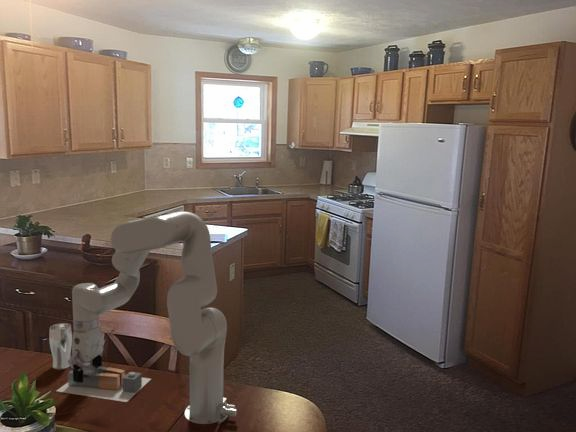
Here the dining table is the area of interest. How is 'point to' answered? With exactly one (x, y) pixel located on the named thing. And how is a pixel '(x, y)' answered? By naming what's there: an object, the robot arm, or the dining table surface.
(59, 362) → the beer glass
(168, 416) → the dining table surface
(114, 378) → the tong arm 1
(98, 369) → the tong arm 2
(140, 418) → the dining table surface
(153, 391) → the dining table surface
